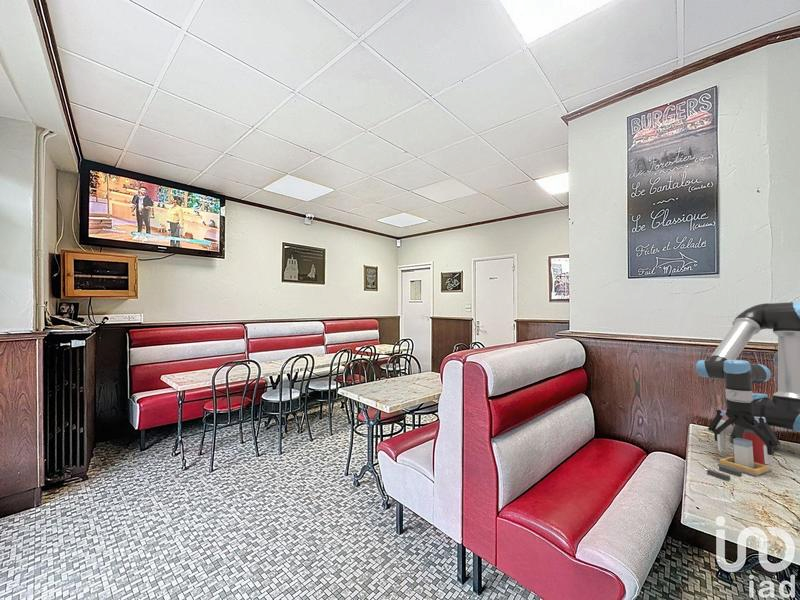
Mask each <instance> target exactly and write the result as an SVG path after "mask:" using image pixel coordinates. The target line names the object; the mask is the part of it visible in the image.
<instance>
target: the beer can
mask: <svg viewBox="0 0 800 600" xmlns="http://www.w3.org/2000/svg"><path fill="white" fill-rule="evenodd" d="M743 439H747V440H751V441H752V446H753V459H754V462H755V463H759V464H762V465H766V466H768V464H765V459H764V447H763V445H766V444H765V443H764V442H763V441H762V440H761V439H760V438H759V437H758V436H757V435H756V434H755V433H754V431H753V430H749V429H746V430H744V433H743Z"/></svg>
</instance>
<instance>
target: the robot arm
mask: <svg viewBox="0 0 800 600" xmlns="http://www.w3.org/2000/svg"><path fill="white" fill-rule="evenodd" d="M731 324H732V327H731V328H730V330H728V332H727V334H726V335H725V336H724V338H723V339H722V340H721V341H720V343H719V344H718V346H717V347H716V348H715V350H714V351H713V352H712V354H711V355H710V357H709V358H708V359H707V360H706V359H699V360H698V361H697V362H696V363H695V371H696V374H697V375H698V376H700V377H703V378H707V379H716V380H724V389H725V398H726V400H725V402H726V403H725V404H726V410H724V409H723V408H720V409H717V410H716V415H715V416H714V418H713V420H712V421H711V422H710V425H709V426H708V428H707V430H708V431H710V432H712V433H713V434H714V442H717V451H718V452H724V438H723V434H721V432H722V431H723V430H724V429H725V428H727V427H728V426H729V425H731V424H732V426H733V432H732V433H730V434H729V441H730V443H732V445H734V443H733V439H735V438H742V439H743V433H744V430H746V429H749V430H753V431H754V433H755V434H756V435H757V436H758V437H759V438H760V439H761V440H762V441H763V442H764V443H765V444H766V445H763V447H764V459H765V464H767V465H770V464H772V456H774V454H775V451H778V450H779V447H778V446H780V445H781V442H780V440H779V439H778V437H777V436H776V434H775V433H774V431H773V430H772V428H771V426H772V427H775V428H780V429H786V430H791V431H794V432H800V301H793V302H775V303H769V302H768V303H759V304H756V305H753V306H751V307H749V308H746V309H745V310H744V311H742V312H740V314H738V315H737V316H736V317H735V318H734V319H733V321H732V323H731ZM762 330H772V333H773V334H774V335H776V336H777V392H775V393H773V394H772V398H771V397H770V398H769V395H768V394H767V393H759V392H753V386H752V385H753V384H762V383H765V382H767V381H769V380H770V379H771V377H772V373H771V369H769V368H768V367H767V366H766V365H764V364H761V363H750V361H748V360H743V359H742V360H741V359H738V357H739V356H740V354H741V353H742V352H743V350H744V349H745V347H746V346H747V344H748V343H749V342H750V340H751V339H752V337H753V336H755V335H757V334H759V333H760V331H762ZM725 415H726V416H727V418H728V419H727V420H726V421H725V422H724V423H723V424H722V425H721V426H719V427H718V428H717V429H715V428H716V427H717V425H718V423H719V422H720V420H723V417H724V416H725Z"/></svg>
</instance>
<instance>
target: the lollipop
mask: <svg viewBox="0 0 800 600" xmlns="http://www.w3.org/2000/svg"><path fill="white" fill-rule="evenodd" d="M725 421H726V420H725V419H721V420H720V422H719V423H718V425H717V427H716V428H715V429H717V428H718V427H719V426H721V425H722V424H723V423H724V422H725ZM733 426H734V425H733V423H732V424H731V425H729V426H728V427H727V428H725V429H724V430H723V431H722V432H721V434H723V441H724V451H723V452H724V458H727V445H726V435H730V434H731V433H732V432H733Z"/></svg>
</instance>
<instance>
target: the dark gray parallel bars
mask: <svg viewBox="0 0 800 600" xmlns="http://www.w3.org/2000/svg"><path fill="white" fill-rule="evenodd" d="M719 471H721V472H719ZM725 473H726V474H725ZM706 474H707V475H708V476H712V477H714V476H715V478H717V477H718V478H717V479H721V480H724V481H727V482H729V481H731V475H733V476H737V477H740V478H741V477H742V476H743V473H742V472H741V471H737V470H734V469H731V468H728V467H724V466H718V471H716V470H713V469H707V470H706ZM728 474H730V475H728Z"/></svg>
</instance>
